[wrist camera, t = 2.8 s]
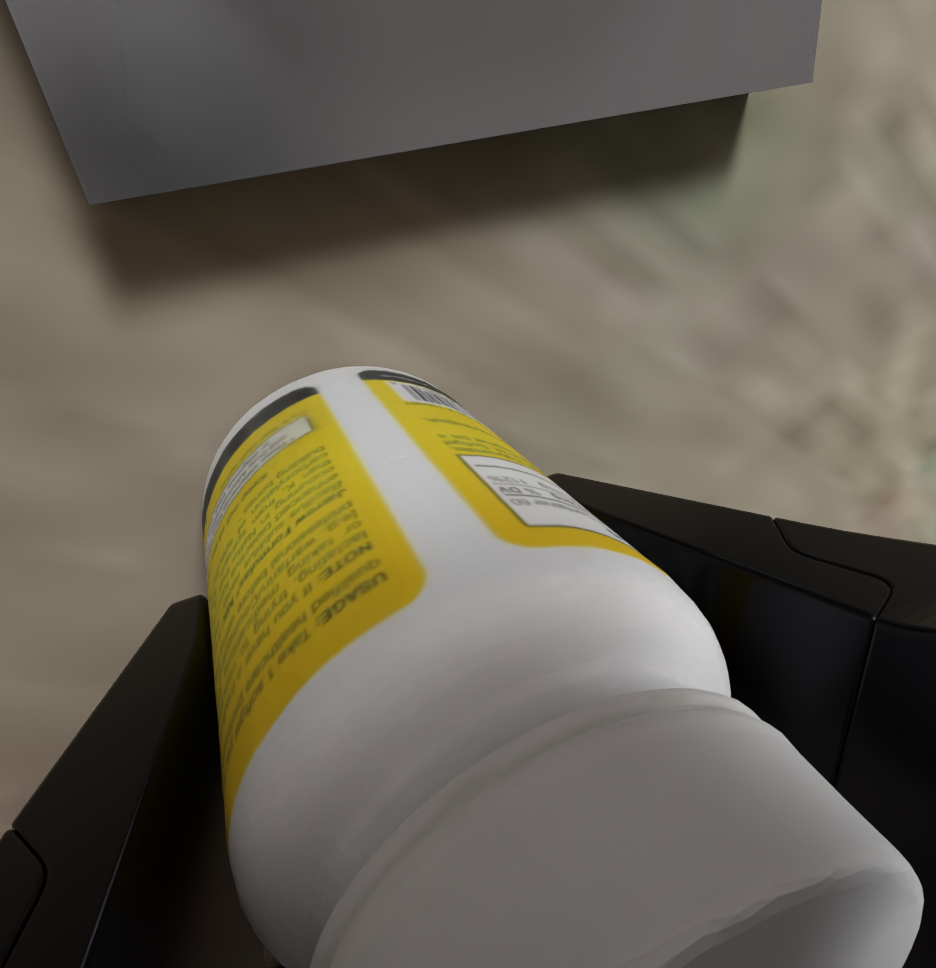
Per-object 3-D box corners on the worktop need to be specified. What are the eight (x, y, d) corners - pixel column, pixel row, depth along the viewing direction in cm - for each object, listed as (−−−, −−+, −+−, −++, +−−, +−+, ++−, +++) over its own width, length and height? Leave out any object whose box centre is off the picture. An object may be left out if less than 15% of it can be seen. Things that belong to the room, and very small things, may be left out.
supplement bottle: (241, 645, 11) (344, 1464, 4) (160, 393, 9) (81, 1246, 2) (489, 569, 12) (879, 1074, 6) (474, 336, 10) (1098, 691, 3)
